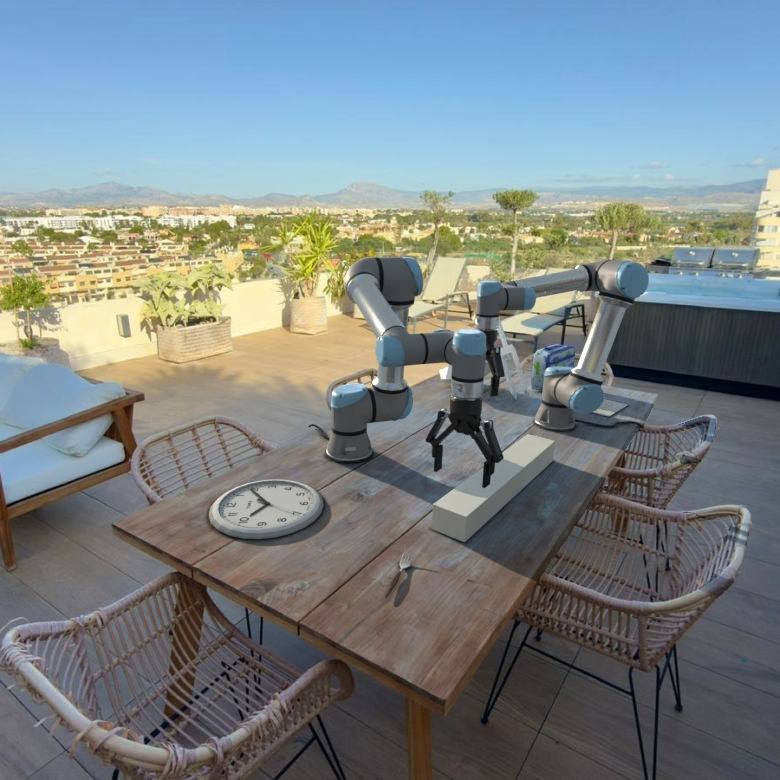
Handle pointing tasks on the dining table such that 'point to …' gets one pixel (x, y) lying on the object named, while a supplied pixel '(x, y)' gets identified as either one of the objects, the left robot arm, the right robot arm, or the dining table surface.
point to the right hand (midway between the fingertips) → (482, 390)
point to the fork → (403, 565)
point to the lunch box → (550, 362)
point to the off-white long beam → (491, 488)
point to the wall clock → (266, 509)
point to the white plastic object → (506, 354)
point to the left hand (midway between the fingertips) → (461, 477)
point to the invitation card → (609, 408)
